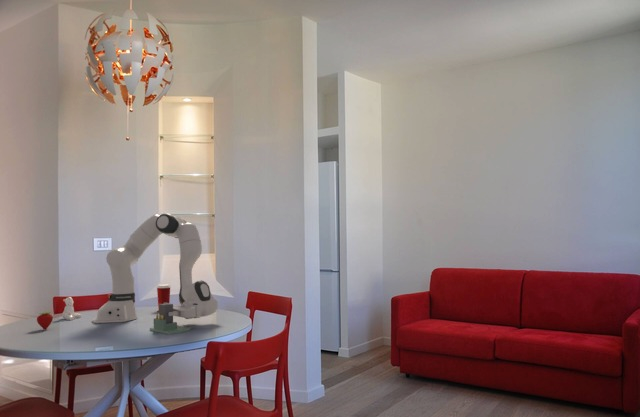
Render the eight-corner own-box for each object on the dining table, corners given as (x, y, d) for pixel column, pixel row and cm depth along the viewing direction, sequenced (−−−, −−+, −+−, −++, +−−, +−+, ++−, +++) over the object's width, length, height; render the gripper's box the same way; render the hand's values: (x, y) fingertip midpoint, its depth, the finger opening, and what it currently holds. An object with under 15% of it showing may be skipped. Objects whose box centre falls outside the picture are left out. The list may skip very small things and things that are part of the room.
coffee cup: (173, 309, 321) (172, 284, 321) (167, 311, 313) (167, 285, 313) (159, 309, 322) (159, 284, 322) (154, 311, 314) (153, 285, 314)
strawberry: (34, 330, 260) (34, 309, 260) (48, 327, 266) (48, 307, 267) (40, 331, 257) (40, 310, 257) (55, 328, 263) (55, 308, 263)
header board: (171, 326, 265) (171, 310, 265) (190, 330, 254) (190, 313, 254) (149, 330, 255) (149, 313, 256) (168, 334, 245) (168, 316, 245)
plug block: (167, 323, 257) (167, 301, 257) (173, 325, 254) (173, 302, 254) (159, 325, 253) (159, 303, 253) (164, 326, 250) (164, 303, 250)
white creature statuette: (71, 320, 286) (71, 298, 286) (57, 320, 288) (57, 298, 288) (82, 317, 295) (82, 295, 296) (68, 317, 297) (68, 295, 297)
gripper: (176, 301, 270) (152, 304, 260) (201, 305, 257) (176, 308, 246) (176, 314, 270) (152, 317, 260) (201, 318, 257) (176, 322, 246)
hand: (164, 313), depth 253 cm, fingers open, 5 cm apart
